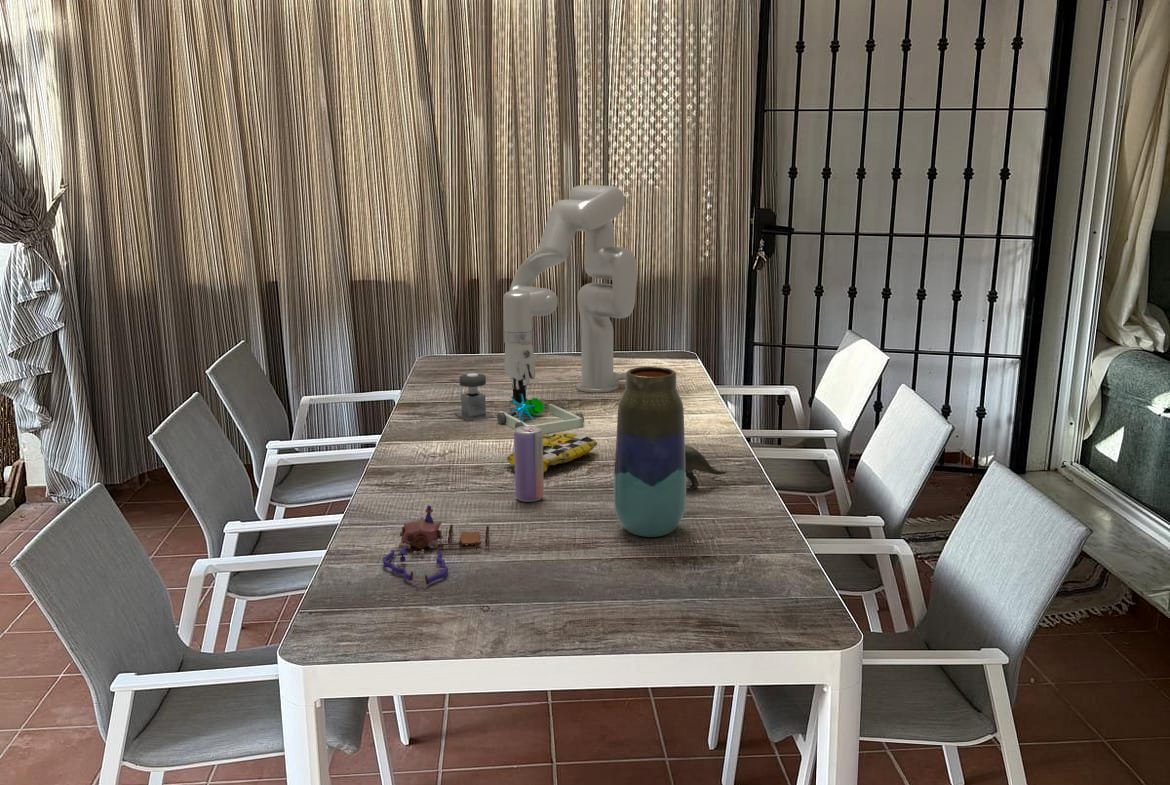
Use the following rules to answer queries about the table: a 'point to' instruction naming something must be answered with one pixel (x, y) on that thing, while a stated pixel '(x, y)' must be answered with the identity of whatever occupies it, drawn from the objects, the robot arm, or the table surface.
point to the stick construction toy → (527, 407)
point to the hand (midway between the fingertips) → (519, 402)
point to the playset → (429, 544)
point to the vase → (650, 453)
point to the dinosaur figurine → (697, 465)
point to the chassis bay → (568, 423)
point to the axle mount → (473, 407)
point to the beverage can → (528, 463)
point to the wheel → (472, 381)
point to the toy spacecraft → (562, 449)
